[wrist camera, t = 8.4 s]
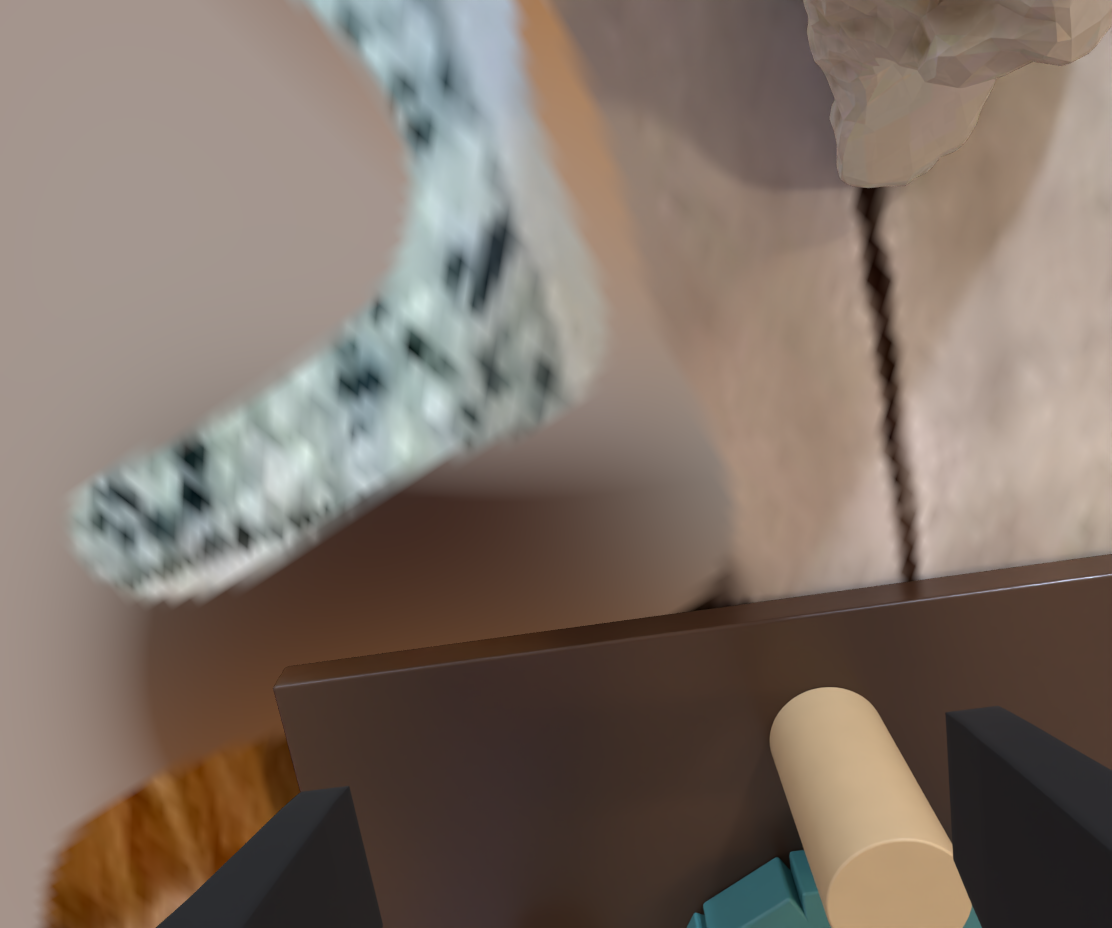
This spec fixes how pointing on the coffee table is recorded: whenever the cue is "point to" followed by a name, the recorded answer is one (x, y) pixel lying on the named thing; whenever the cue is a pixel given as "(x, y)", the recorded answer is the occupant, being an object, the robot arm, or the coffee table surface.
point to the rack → (669, 737)
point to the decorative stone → (931, 71)
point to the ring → (847, 832)
